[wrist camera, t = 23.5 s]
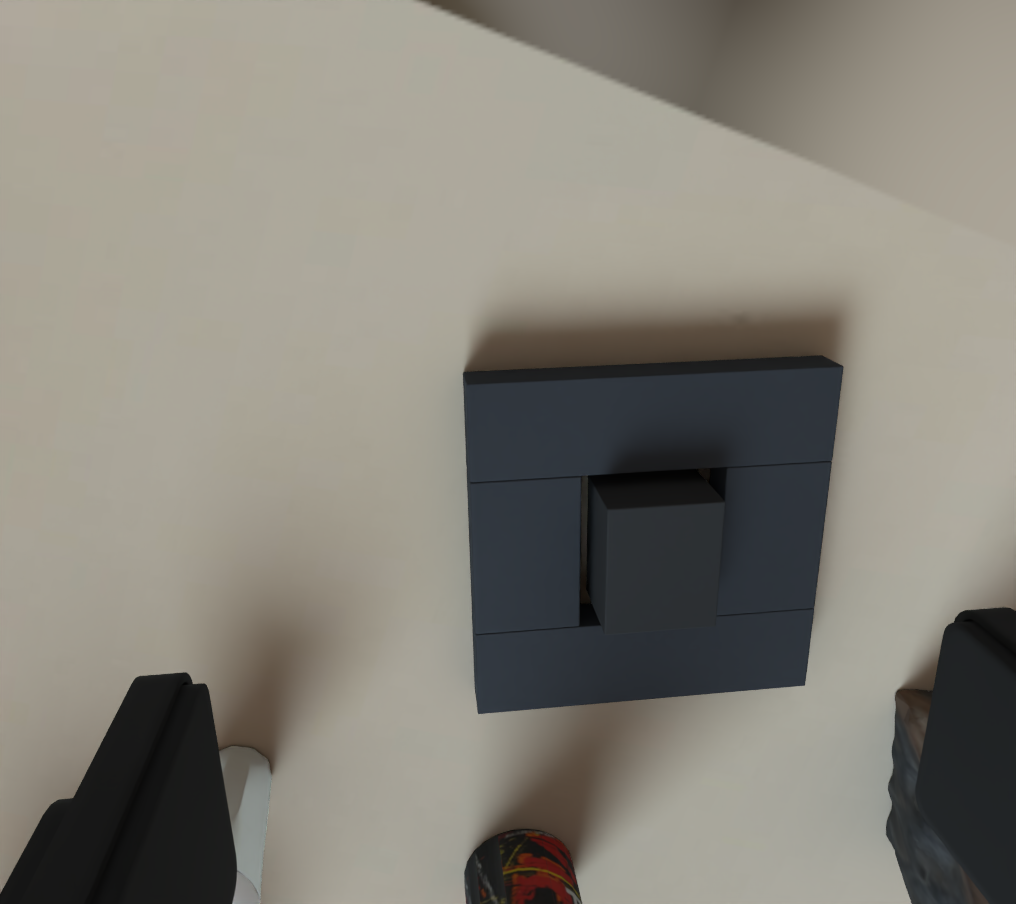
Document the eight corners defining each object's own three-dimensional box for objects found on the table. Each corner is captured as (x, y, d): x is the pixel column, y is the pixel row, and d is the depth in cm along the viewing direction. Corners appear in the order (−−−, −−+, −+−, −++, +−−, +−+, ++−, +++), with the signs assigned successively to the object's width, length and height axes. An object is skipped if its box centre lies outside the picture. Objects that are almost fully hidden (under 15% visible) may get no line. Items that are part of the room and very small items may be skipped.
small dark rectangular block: (588, 473, 38) (607, 509, 34) (694, 467, 39) (726, 501, 35) (586, 590, 40) (604, 635, 36) (687, 583, 41) (716, 627, 37)
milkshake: (166, 800, 41) (97, 991, 32) (215, 719, 40) (158, 893, 31) (252, 832, 43) (209, 1024, 33) (302, 754, 41) (272, 931, 32)
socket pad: (462, 371, 36) (466, 384, 34) (822, 355, 37) (844, 366, 36) (474, 688, 41) (478, 714, 39) (788, 662, 43) (805, 685, 41)
